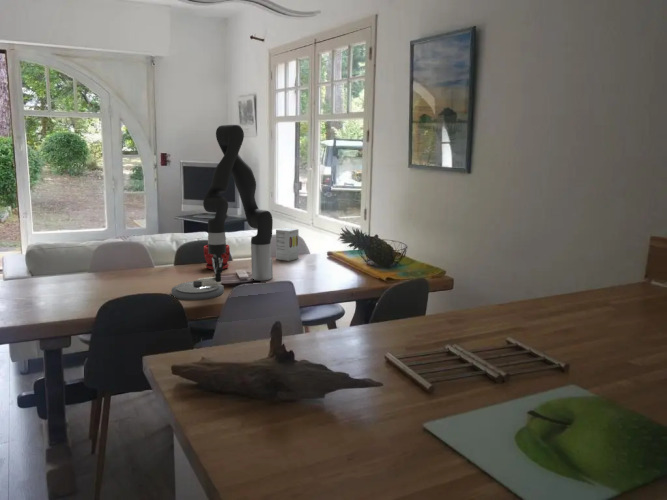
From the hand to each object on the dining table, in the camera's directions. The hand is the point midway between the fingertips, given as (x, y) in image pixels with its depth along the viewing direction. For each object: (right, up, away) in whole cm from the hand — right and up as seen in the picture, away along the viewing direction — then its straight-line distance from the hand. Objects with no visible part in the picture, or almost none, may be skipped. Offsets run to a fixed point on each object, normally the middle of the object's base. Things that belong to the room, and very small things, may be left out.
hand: (218, 281), depth 249 cm
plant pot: (-10, +4, +47) cm, 48 cm away
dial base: (-9, -5, -1) cm, 10 cm away
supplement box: (+25, +9, +71) cm, 75 cm away
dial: (-8, -3, -1) cm, 8 cm away
